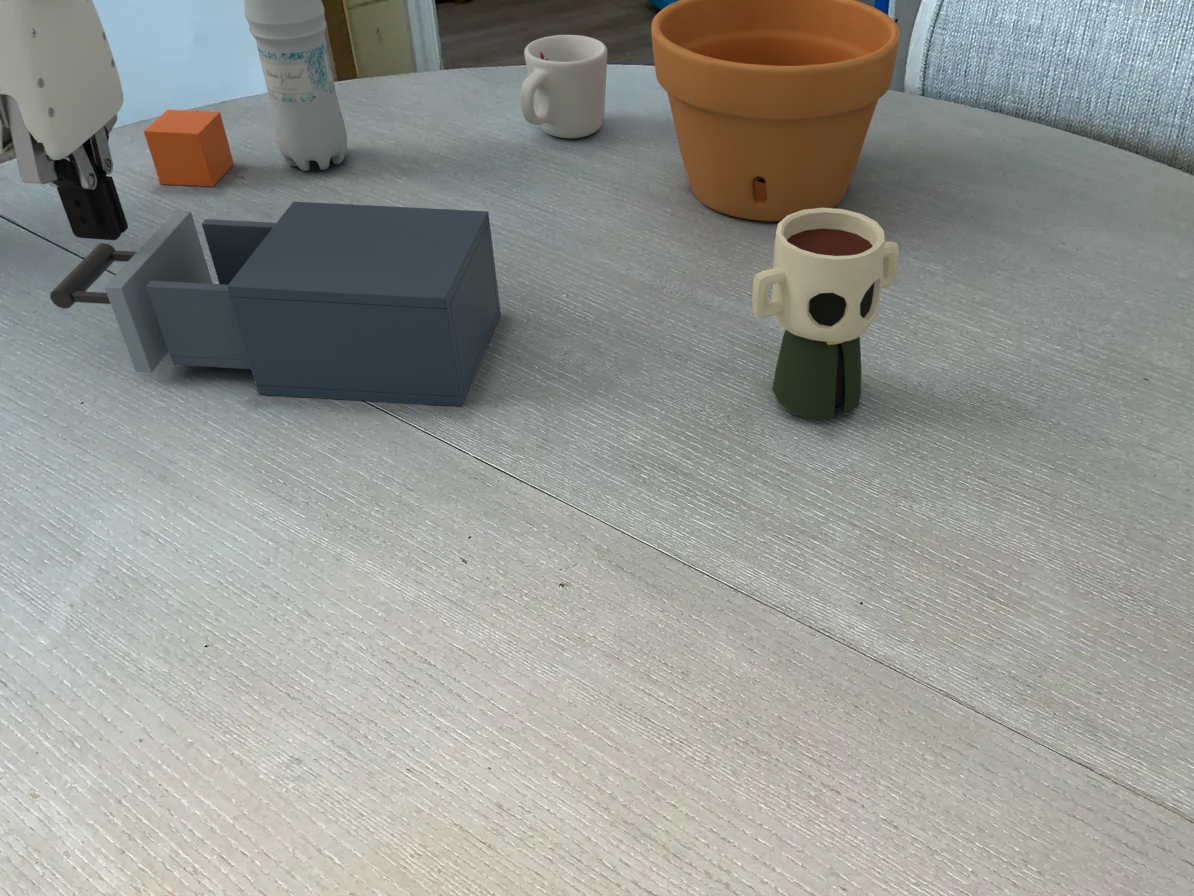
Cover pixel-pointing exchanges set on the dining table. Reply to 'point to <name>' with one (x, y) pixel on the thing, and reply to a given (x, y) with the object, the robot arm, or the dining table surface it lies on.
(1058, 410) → the dining table surface
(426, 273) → the drawer cabinet
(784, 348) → the character mug
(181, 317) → the drawer
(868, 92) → the flower pot
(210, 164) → the block
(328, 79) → the bottle
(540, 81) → the cup
